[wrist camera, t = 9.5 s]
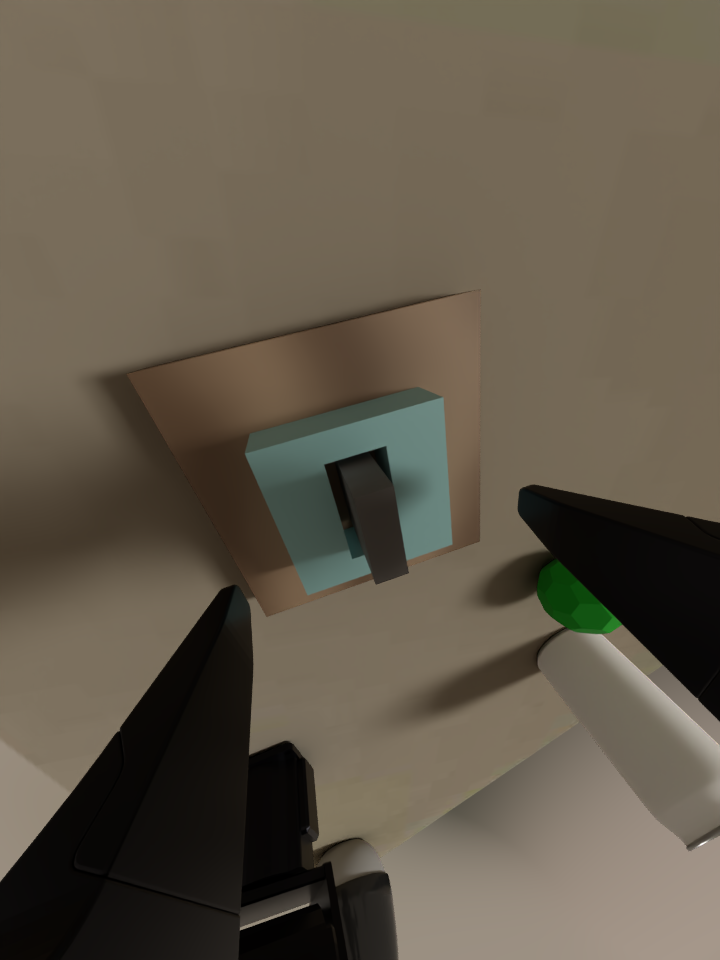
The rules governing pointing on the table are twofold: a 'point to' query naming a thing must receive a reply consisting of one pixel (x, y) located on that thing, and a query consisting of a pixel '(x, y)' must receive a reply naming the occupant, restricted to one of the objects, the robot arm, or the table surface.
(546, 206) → the table surface
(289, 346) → the post base
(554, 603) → the polyhedron
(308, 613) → the table surface
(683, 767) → the can
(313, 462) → the slotted plate
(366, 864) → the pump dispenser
